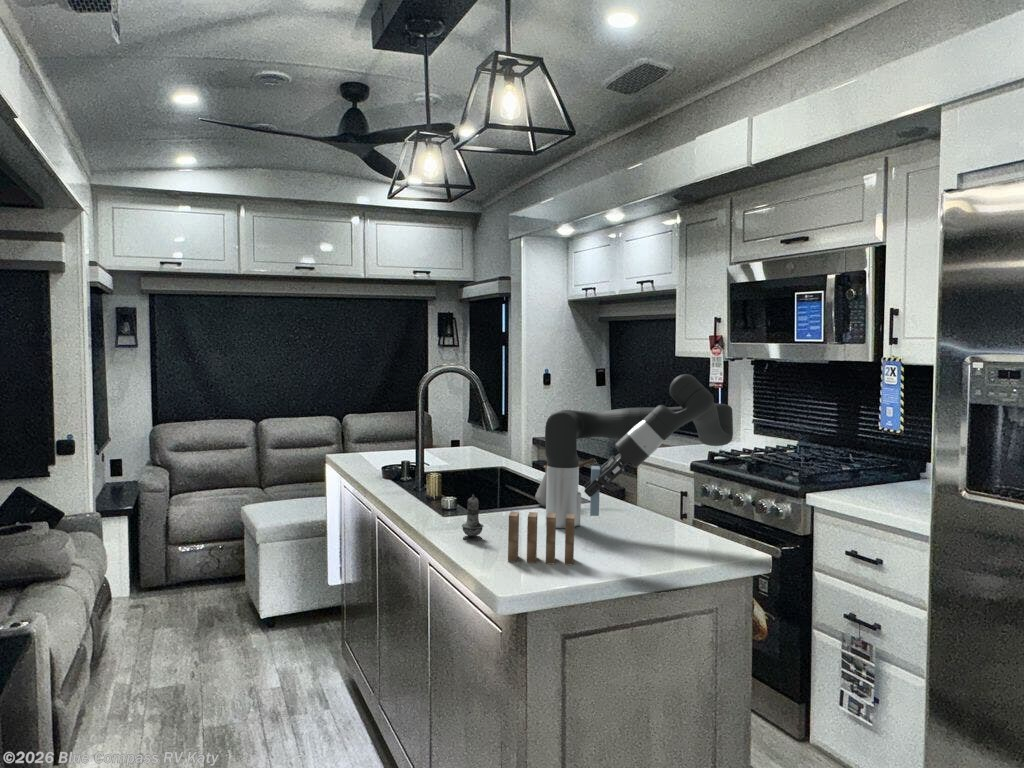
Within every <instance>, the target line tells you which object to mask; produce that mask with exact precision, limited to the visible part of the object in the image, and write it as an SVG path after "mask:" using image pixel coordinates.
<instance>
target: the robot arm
mask: <svg viewBox="0 0 1024 768" xmlns="http://www.w3.org/2000/svg"><path fill="white" fill-rule="evenodd" d="M668 391H669V395H670V397H671V398H672V399H673V400H674V401H675V402H676V403H677V404H678V405H679V406H672V407H671V406H665V405H663V404H659V405H657V406H656V407H645V406H644V407H626V408H625V407H624V408H617V409H610V410H609V409H608V410H602V411H586V410H585V411H583V410H575V409H573V410H572V409H562V410H557V411H555V412H553V413H552V414H550V415H549V416H548V418H547V420H546V422H545V428H544V429H545V430H544V431H545V432H544V443H545V444H544V449H545V450H544V453H545V458H546V465H547V489H546V507H545V525H546V526H547V514H548V513H556V529H557V528H559V529H566V514H575V520H574V528H575V527H577V526H578V527H579V526H581V517H582V516H581V515H582V511H581V510H582V507H581V506H582V493H581V492H580V491H579V483H580V482H579V479H580V478H579V477H580V476H579V475H580V468H579V464H580V458H579V455H578V451H577V439H578V440H579V439H588V438H606V439H611V440H617V442H615V443H614V447H615V449H616V450H617V452H619V453H618V454H617V455H611V456H610V457H609V458H608V459H607V461H606V462H604V463H603V464H602V465H601V467H600V475H599V476H598V477H596V479H595V480H594V481H593V482H592V483H591V479H590V480H589V481H587V482H586V483H585V484H584V485H583V486H584V491H583V492H584V493H585V494H586V495H587V496H588V497H589V498H590V497H592V496H593V495H594V494H595V493H596V492H597V491H598V490H599V489H601V488H605V487H607V486H609V484H610V483H611V482H613V481H614V479H616V478H617V477H618V476H620V475H621V474H622V473H623V472H624V471H625V470H626V469H625V466H626V465H628V464H630V465H631V466H632V467H634V468H638V467H640V465H641V464H643V463H644V461H646V460H647V459H648V458H649V457H650V456H651V455H653V454H654V452H656V451H657V449H659V448H660V447H661V445H662V444H663V443H664V442H665V441H666V440H667V439H668V438H669V437H671V435H672V434H673V433H674V432H676V431H677V430H678V429H680V428H681V427H683V426H685V425H687V424H688V423H690V422H692V423H693V424H694V426H695V428H696V431H697V436H698V440H699V441H700V442H701V444H703V445H706V446H711V447H720V446H726V445H728V444H730V443H731V442H732V440H733V436H734V420H733V418H734V417H733V414H734V413H733V409H732V407H731V405H729V404H726V403H719V402H718V403H715V401H714V400H715V398H714V395H713V394H712V393H711V392H710V390H708V389H707V388H706V387H705V386H704V385H703V384H702V383H701V382H700V381H699V380H698V379H697V378H696V377H694V376H693V375H692V374H687V373H684V374H680V375H678V376H676V377H674V378H673V380H672V381H671V383H670V385H669V390H668Z"/></svg>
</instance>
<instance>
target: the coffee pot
mask: <svg viewBox="0 0 1024 768" xmlns="http://www.w3.org/2000/svg"><path fill="white" fill-rule="evenodd" d="M591 462H592V463H593V464H595V465H596V464H598V462H597V460H596V459H595V458H594V457H593V458H590V459H587V460H586V461H583V462H581V463H579V469H581V468H583V467H585V466H586V465H587V464H590V463H591ZM543 468H544V470H545V472H544V475H543V477H542V478H541V482H540V484H539V486H538V487H537V491H536V493H535V496H534V497H535V500H536V501H537V503H539V504H540V506H542V507H545V508H546V489H547V464H546V465H545V464H544V465H543Z"/></svg>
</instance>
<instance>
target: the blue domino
mask: <svg viewBox="0 0 1024 768" xmlns="http://www.w3.org/2000/svg"><path fill="white" fill-rule="evenodd" d="M600 468H601V467H600V465H591V466H590V480H591V483H592V482H593V481H594V480H595V479H596V477H598V476H599V475H600ZM600 489H601V488H600ZM600 489H599V490H598V491H597V492H596V493H595V494H594V495H593V496H592V497H589V498H590V499H589V500H590V502H589V503H590V504H589V505H590V506H589V507H590V508H589V515H590V517H600Z"/></svg>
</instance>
